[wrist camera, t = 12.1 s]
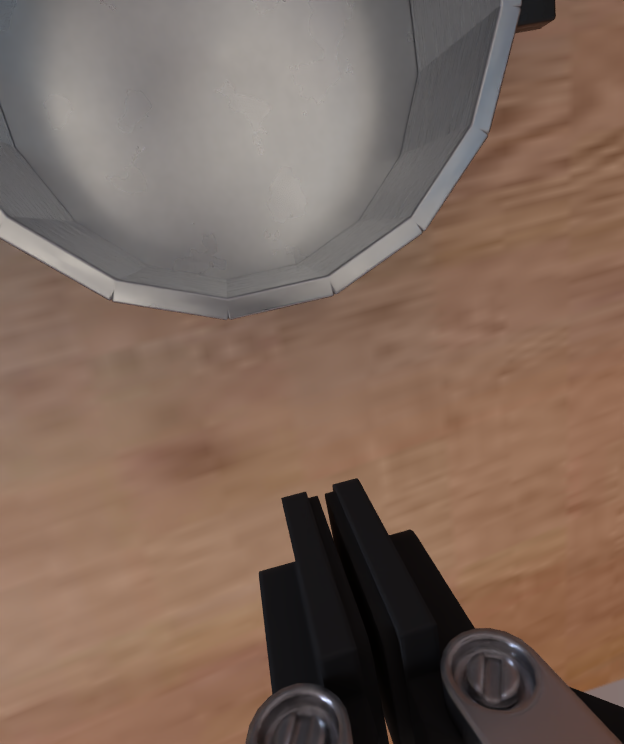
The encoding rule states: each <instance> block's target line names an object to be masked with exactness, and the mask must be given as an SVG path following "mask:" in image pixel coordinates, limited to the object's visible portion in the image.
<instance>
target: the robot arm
mask: <svg viewBox="0 0 624 744" xmlns="http://www.w3.org/2000/svg"><path fill="white" fill-rule="evenodd" d="M281 499H282V504H283V508H284V512H285V517H286V521H287V525H288V530H289V534H290V539H291V543H292V547H293V552H294V556H295V562H292V563H288V564H285V565H281V566H277V567H274V568H270V569H267V570H263V571H259V581H260V590H261V598H262V607H263V616H264V625H265V633H266V642H267V651H268V659H269V668H270V677H271V686H272V694H273V695H271V696H270V697H269V698H268V699H267V700H266V701H265V702H264V703H263V704H262V705H261V706H260V707H259V709H258V710H257V712H256V714H255V716H254V717H253V719H252V721H251V723H250V725H249V730H248V734H247V738H246V744H389V741H388V735H387V730H386V725H385V720H386V723H387V726H388V729H389V732H390V735H391V738H392V741H393V744H624V708H623V707H620V706H618V705H615V704H612V703H610V702H607V701H605V700H602V699H600V698H597V697H594V696H592V695H589V694H587V693H584V692H581V691H579V690H576V689H573V688H571V687H569V686H568V685H567V684H566V683H565V682H564V681H563V680H562V679H561V678H560V677H559V676H558V675H557V674H556V673H555V672H554V671H553V670H552V669H551V667H550V666H549V665H548V664H547V663H546V662H545V661H544V660H543V659H542V658H541V657H540V656H539V655H538V654H537V653H536V652H535V651H534V650H533V649H532V648H531V647H530V646H528V645H527V644H526V643H525V642H524V641H522V640H521V639H520V638H517V637H515V636H513V635H511V634H509V633H507V632H505V631H500V630H496V629H491V628H477V629H475V628H474V626H473V625H472V623H471V622H470V620H469V618H468V617H467V615H466V614H465V612H464V610H463V609H462V607H461V606H460V604H459V602H458V601H457V599H456V598H455V596H454V595H453V593H452V591H451V590H450V588H449V587H448V585H447V583H446V582H445V580H444V579H443V577H442V575H441V574H440V572H439V571H438V569H437V568H436V566H435V564H434V563H433V561H432V560H431V558H430V556H429V555H428V553H427V552H426V550H425V548H424V547H423V545H422V544H421V542H420V541H419V539H418V537H417V536H416V534H415V533H414V532H413V531H412V530H407V531H403V532H400V533H396V534H392V535H388V533H387V531H386V529H385V527H384V526H383V524H382V522H381V520H380V518H379V516H378V515H377V513H376V511H375V509H374V507H373V505H372V503H371V502H370V500H369V498H368V496H367V494H366V492H365V491H364V489H363V487H362V485H361V483H360V481H359V480H358V479H357V478H356V479H352V480H348V481H345V482H341V483H337V484H333V492H330V493H326V494H325V499H326V504H327V509H328V514H329V520H330V525H331V530H332V535H333V537H332V535H331V532H330V529H329V526H328V524H327V521H326V518H325V515H324V513H323V510H322V507H321V504H320V501H319V499H318V496H315V497H311V498H308V496H307V493H306V492H302V493H299V494H295V495H291V496H287V497H283V498H281ZM384 717H385V719H384Z"/></svg>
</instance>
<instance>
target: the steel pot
mask: <svg viewBox="0 0 624 744" xmlns="http://www.w3.org/2000/svg"><path fill="white" fill-rule="evenodd" d="M555 16H556V13H555V0H0V239H1V240H3V241H5V242H7V243H8V244H10V245H12V246H14V247H15V248H17V249H19V250H21V251H23V252H24V253H26V254H28V255H30V256H31V257H33V258H35V259H37V260H38V261H40V262H42V263H44V264H46V265H47V266H49V267H51V268H53V269H54V270H56V271H58V272H60V273H61V274H63V275H65V276H67V277H68V278H70V279H72V280H74V281H76V282H77V283H79V284H81V285H83V286H84V287H86V288H88V289H90V290H91V291H93V292H95V293H97V294H99V295H100V296H102V297H104V298H106V299H107V300H112V301H113V302H116V303H122V304H129V305H135V306H141V307H147V308H154V309H160V310H166V311H173V312H179V313H185V314H192V315H198V316H204V317H210V318H217V319H223V320H227V319H228V318H229V319H231V320H232V319H236V318H240V317H245V316H249V315H253V314H258V313H262V312H266V311H271V310H275V309H279V308H284V307H288V306H292V305H297V304H301V303H305V302H310V301H314V300H318V299H323V298H327V297H331V296H333V295H334V294H338V293H339V292H341V291H342V290H344V289H345V288H346V287H348V286H349V285H351V284H352V283H354V282H355V281H356V280H358V279H359V278H361V277H362V276H363V275H365V274H366V273H368V272H369V271H370V270H372V269H373V268H375V267H376V266H378V265H379V264H380V263H382V262H383V261H385V260H386V259H387V258H389V257H390V256H392V255H393V254H394V253H396V252H397V251H399V250H400V249H401V248H403V247H404V246H406V245H407V244H409V243H410V242H411V241H413V240H414V239H416V238H417V237H418V236H420V235H421V234H422V233H423V232H422V231H425V230H426V229H427V227H428V226H429V224H430V223H431V221H432V220H433V218H434V217H435V215H436V214H437V212H438V211H439V209H440V208H441V206H442V205H443V203H444V202H445V200H446V199H447V197H448V196H449V194H450V193H451V191H452V190H453V188H454V187H455V185H456V184H457V182H458V181H459V179H460V178H461V176H462V175H463V173H464V172H465V170H466V169H467V167H468V166H469V164H470V163H471V161H472V160H473V158H474V157H475V155H476V154H477V152H478V151H479V149H480V148H481V146H482V145H483V143H484V142H485V140H486V139H487V137H488V133H489V132H490V128H491V125H492V121H493V117H494V113H495V109H496V105H497V101H498V97H499V93H500V90H501V86H502V82H503V78H504V74H505V70H506V66H507V62H508V59H509V55H510V51H511V47H512V43H513V39H514V35H515V33H519V32H524V31H530V30H536V29H540V28H542V27H543V26H545V25H547V24H548V23H550V22H551V21H553V20H554V19H555Z"/></svg>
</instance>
